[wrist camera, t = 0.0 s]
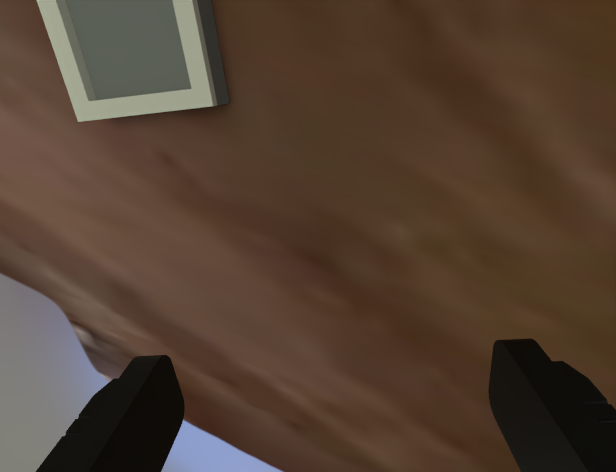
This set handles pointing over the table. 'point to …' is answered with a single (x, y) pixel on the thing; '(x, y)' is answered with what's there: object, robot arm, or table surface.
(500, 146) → the table surface
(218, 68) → the plinth
